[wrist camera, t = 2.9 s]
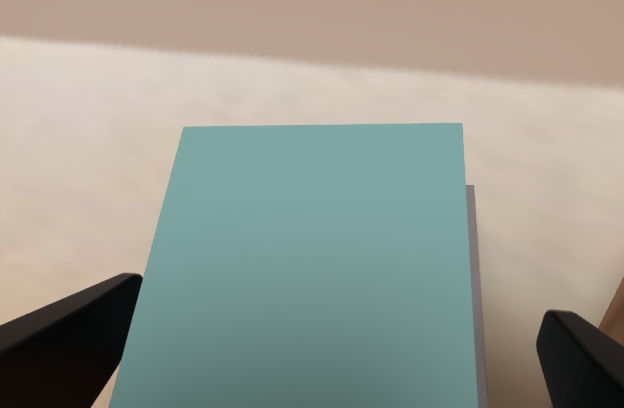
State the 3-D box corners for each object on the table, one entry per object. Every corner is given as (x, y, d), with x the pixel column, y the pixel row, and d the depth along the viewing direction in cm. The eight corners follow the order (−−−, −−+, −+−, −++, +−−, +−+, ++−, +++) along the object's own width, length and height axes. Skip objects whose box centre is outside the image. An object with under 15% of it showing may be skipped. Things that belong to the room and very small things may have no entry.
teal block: (416, 395, 10) (483, 504, 4) (260, 373, 11) (102, 429, 5) (416, 236, 12) (462, 123, 5) (280, 229, 13) (183, 126, 6)
